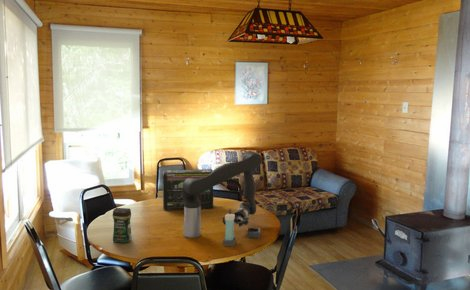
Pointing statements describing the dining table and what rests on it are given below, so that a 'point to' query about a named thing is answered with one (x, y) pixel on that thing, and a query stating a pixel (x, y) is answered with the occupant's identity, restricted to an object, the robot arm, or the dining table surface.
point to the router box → (175, 188)
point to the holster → (229, 242)
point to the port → (253, 233)
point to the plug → (229, 226)
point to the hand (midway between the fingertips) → (232, 223)
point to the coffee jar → (122, 225)
